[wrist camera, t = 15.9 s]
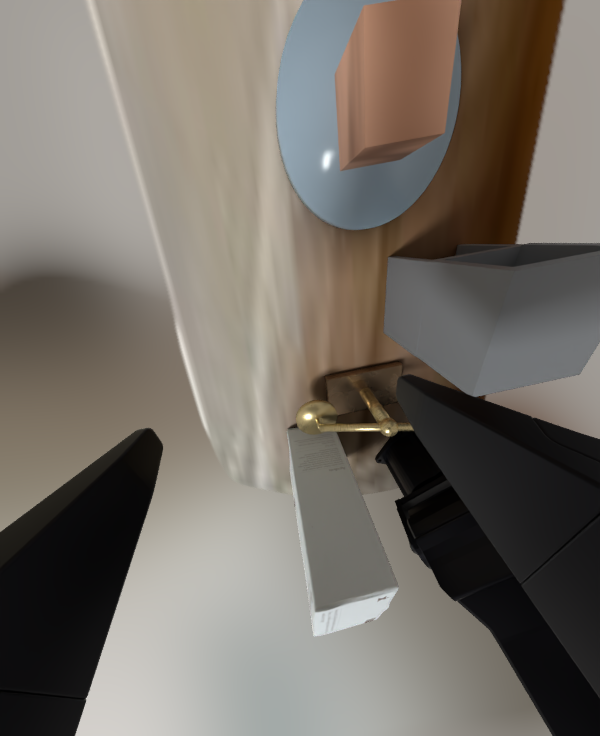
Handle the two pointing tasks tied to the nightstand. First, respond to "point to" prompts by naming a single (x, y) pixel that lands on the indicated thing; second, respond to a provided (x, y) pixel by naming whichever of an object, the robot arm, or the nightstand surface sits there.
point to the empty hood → (411, 284)
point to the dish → (320, 132)
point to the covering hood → (512, 318)
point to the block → (395, 80)
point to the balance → (355, 401)
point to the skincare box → (336, 536)
